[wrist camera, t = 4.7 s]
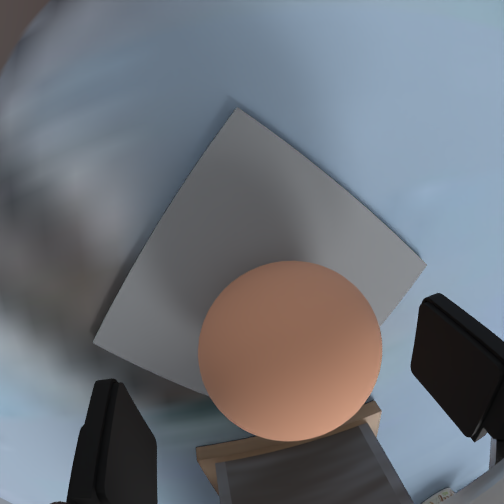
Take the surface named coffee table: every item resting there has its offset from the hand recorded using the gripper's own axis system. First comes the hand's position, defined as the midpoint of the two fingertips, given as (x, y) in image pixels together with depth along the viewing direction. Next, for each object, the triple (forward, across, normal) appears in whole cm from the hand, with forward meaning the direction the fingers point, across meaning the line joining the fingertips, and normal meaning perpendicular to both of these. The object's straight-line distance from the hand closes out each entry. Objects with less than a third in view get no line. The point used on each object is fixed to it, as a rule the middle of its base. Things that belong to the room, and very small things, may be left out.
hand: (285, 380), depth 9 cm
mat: (+5, -1, 0) cm, 5 cm away
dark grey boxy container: (+5, -1, +20) cm, 20 cm away
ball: (+1, 0, 0) cm, 1 cm away
